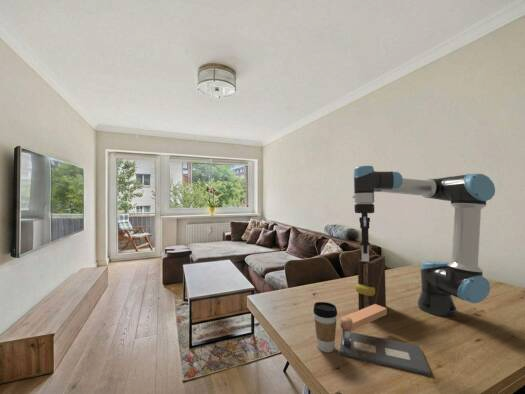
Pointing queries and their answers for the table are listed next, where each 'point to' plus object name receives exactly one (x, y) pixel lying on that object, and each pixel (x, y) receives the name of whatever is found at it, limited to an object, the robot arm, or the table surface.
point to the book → (371, 282)
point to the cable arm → (362, 317)
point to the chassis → (383, 352)
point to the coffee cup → (325, 325)
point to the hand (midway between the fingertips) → (365, 260)
